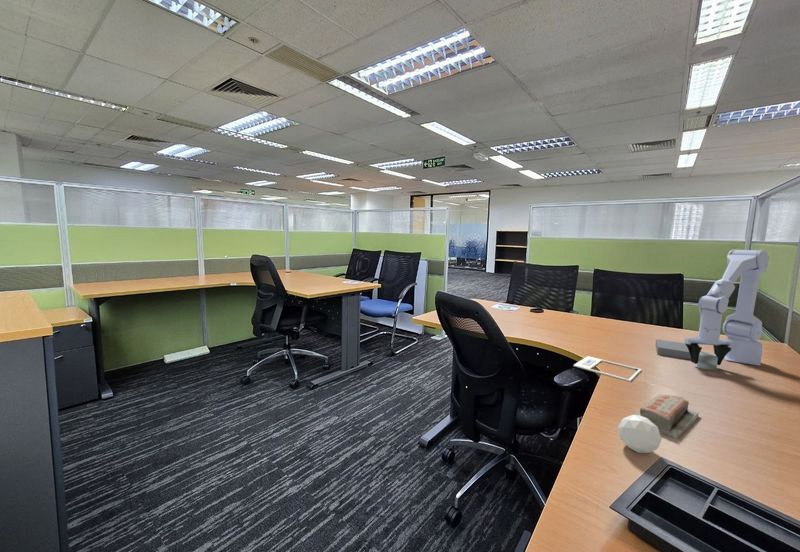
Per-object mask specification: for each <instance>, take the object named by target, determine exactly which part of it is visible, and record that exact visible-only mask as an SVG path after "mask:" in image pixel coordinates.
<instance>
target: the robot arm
mask: <svg viewBox="0 0 800 552" xmlns="http://www.w3.org/2000/svg"><path fill="white" fill-rule="evenodd" d="M726 261H727V262H726V263H727V266H726V269H725V270H724V273H723V275H722V277H721V279H718V280H716V281H715V282H714V283H713V284H712V286H711V288H710V289H709V291H708V292H707V294H706V295H704V296H701V297H700V298H699V300H698V303H697V305H698V306H697V307H698V309H699V310H698V311H699V312H698V313H699V315H700V320H699V329H698V335H697V336H698V337H685V338H684V342H683V343H686V346H687V348H688V350H689V352H690V356H691V360H690V361H691V363H693V364H697V363H698V359H699V354H700V351H701V352H702V349H703V348H702V346H700V345H706V346H713V352H714V353H713V354H715V355H716V356H717V357H718V361H717V366H721V365H722V362H723V360H724V359H725V360H726V361H728V362H735V363H740V364H746V365H753V366H759V367H761V362H762V356H763V342H762V341H761V340H759V339H761V337H762V336H763V321H762V320H761V319H759V318H758V317H756V316H755V315H754V311H755V307H756V300H757V296H758V295H757V294H758V291H759V290H758V288H759V285H760V278H761V275H762V273H765V272H767V270H768V266H769V261H770V255H769V254H768V252H767V251H766V250H765V249H761V250H760V249H758V250H755V249H749V250H748V249H735V248H734V249H733V248H732V249H731V250H730V251H729V252H728V253H727V255H726ZM739 277H740V283H739V288H738V295H737V299H736V305H735V312H734V313H731V314H729V315H727V316H726V317H725V320H724V322H723V324H722V319H723V314H724V313H725V312H726V310H727V308H728V304H729V302H730V300H729V299H730V297H731V295H732V294H733V292H734V290H735V288H736V286H735V282H736V281H737V280H738V279H739ZM721 328H722V332H723V333H724V335H725V336H726V337H727V339H723V338H722V339H721V338H720V337H721V336H720V335H721Z"/></svg>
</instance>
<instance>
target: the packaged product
mask: <svg viewBox="0 0 800 552" xmlns="http://www.w3.org/2000/svg"><path fill="white" fill-rule="evenodd" d="M689 404H690V403H689V400H686V399H684V398H683V397H681V396H678V395H669V394H659V395H657V396H655V397H654V398H653V399H652V400H650V401H649V402H648V403H646V404H645V405H643V406H642V407H641V408H640V409H639V411H638V412H636V413H635V414H634V415H640V416H643V417H645V418H648V419H649V420H650V421H651V422H652V423H653V424H655V425H656V426H657V427H658V429H659V433H661V432H662V433H661V434H663V433H664V435H666V434H667V435H666V436H668V435H669V436H668V437H671V436H672V437H671V438H674V437H675V438H674V439H676V438H677V439H679V437H681V435H682V434H684V433H685V432H686V431H687V430H688V429H689V428H690V427H692V425H693V424H694V423H695V421H696V420H697V419H698V417H699V413H700V411H695V410H691V409H688V408H689ZM688 427H689V428H688ZM687 428H688V429H687ZM686 429H687V430H686ZM684 431H685V432H684Z"/></svg>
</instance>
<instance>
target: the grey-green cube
mask: <svg viewBox="0 0 800 552" xmlns="http://www.w3.org/2000/svg"><path fill="white" fill-rule="evenodd" d="M717 361H718V357H717V356H716V355H715V354H714V353H710V352H706V351H701V352H700V354H699V359H698V363H697V364H695V363H694V364H695V366H696V368H697V369H704V370H709V371H715V372H717V368H718V365H717Z"/></svg>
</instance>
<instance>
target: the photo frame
mask: <svg viewBox="0 0 800 552" xmlns="http://www.w3.org/2000/svg"><path fill="white" fill-rule="evenodd" d="M602 362H603V363H607V364H610V365H611V364H612V365H615V366H619V367H623V368H627V369H632V370H636V371H635V372H634V373H633V374H632V375H631V376H630V377H629V378H626V377H622V376H618V375H614V374H611V373H607V372H605V371H604V372H603V371H600V370H596V369H593V368H595V367H596V366H597V365H600V363H602ZM573 367H576V368H579V369H582V370H586V371H589V372H593V373H597V374H600V375H604V376H608V377H611V378H614V377H615V379H619V380H622V381H626V382H630V383H631V382H632V381H633V380H634V379H635V378H636V377H637V376H638V375H639V374H640V373H641V372H642V368H639V367H634V366H630V365H626V364H622V363H617V362H613V361H609V360H606V359H602V358H597V357H592V356H589V355H587V356H586V357H584V358H582V359H581V360H579V361H577V362H576V363H574V364H573Z"/></svg>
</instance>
